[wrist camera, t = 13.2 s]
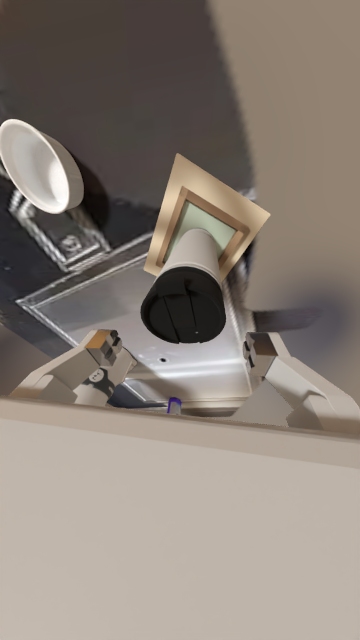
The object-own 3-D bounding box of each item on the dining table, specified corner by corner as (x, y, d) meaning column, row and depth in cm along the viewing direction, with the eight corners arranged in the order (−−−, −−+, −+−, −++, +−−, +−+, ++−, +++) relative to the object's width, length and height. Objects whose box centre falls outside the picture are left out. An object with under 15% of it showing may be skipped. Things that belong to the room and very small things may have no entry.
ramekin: (86, 222, 27) (69, 225, 23) (33, 191, 25) (7, 191, 21) (90, 158, 21) (69, 151, 18) (23, 112, 19) (-15, 95, 16)
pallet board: (208, 297, 33) (208, 303, 31) (145, 267, 30) (141, 271, 29) (267, 213, 22) (273, 215, 20) (178, 155, 20) (175, 150, 18)
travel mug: (213, 220, 22) (227, 272, 7) (216, 263, 26) (228, 354, 11) (174, 229, 24) (118, 288, 9) (182, 269, 28) (153, 355, 13)
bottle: (183, 403, 75) (178, 447, 62) (173, 403, 77) (166, 446, 64) (178, 397, 71) (171, 442, 58) (167, 397, 73) (159, 441, 60)
